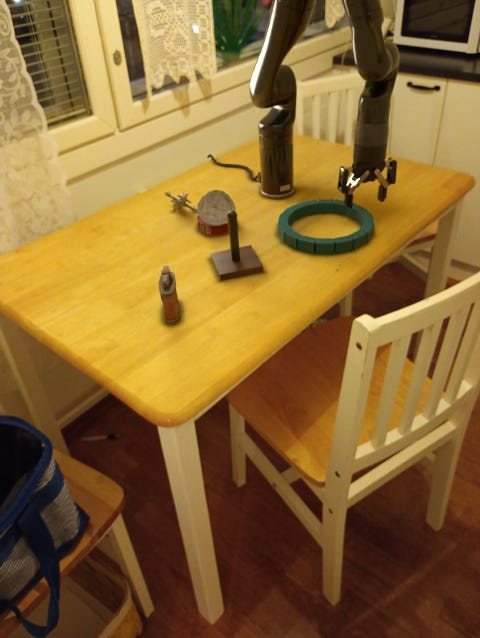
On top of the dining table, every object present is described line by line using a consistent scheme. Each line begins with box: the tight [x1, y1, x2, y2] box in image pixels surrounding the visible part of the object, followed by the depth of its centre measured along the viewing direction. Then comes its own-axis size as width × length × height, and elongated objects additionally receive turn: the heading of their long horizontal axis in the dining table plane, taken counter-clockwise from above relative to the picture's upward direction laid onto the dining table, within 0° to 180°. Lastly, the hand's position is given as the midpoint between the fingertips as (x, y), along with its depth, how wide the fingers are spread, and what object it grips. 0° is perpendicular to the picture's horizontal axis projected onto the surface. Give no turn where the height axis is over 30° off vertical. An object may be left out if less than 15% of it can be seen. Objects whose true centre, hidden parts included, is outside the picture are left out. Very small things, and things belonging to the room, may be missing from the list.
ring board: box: [209, 210, 264, 282], centre depth 117 cm, size 10×10×14 cm
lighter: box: [158, 265, 182, 325], centre depth 105 cm, size 8×3×10 cm, turn 5°
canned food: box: [196, 189, 237, 237], centre depth 135 cm, size 11×10×10 cm
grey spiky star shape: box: [165, 190, 197, 213], centre depth 144 cm, size 10×6×9 cm
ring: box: [277, 198, 375, 256], centre depth 130 cm, size 23×23×3 cm
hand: (364, 203), depth 131 cm, fingers open, 8 cm apart
